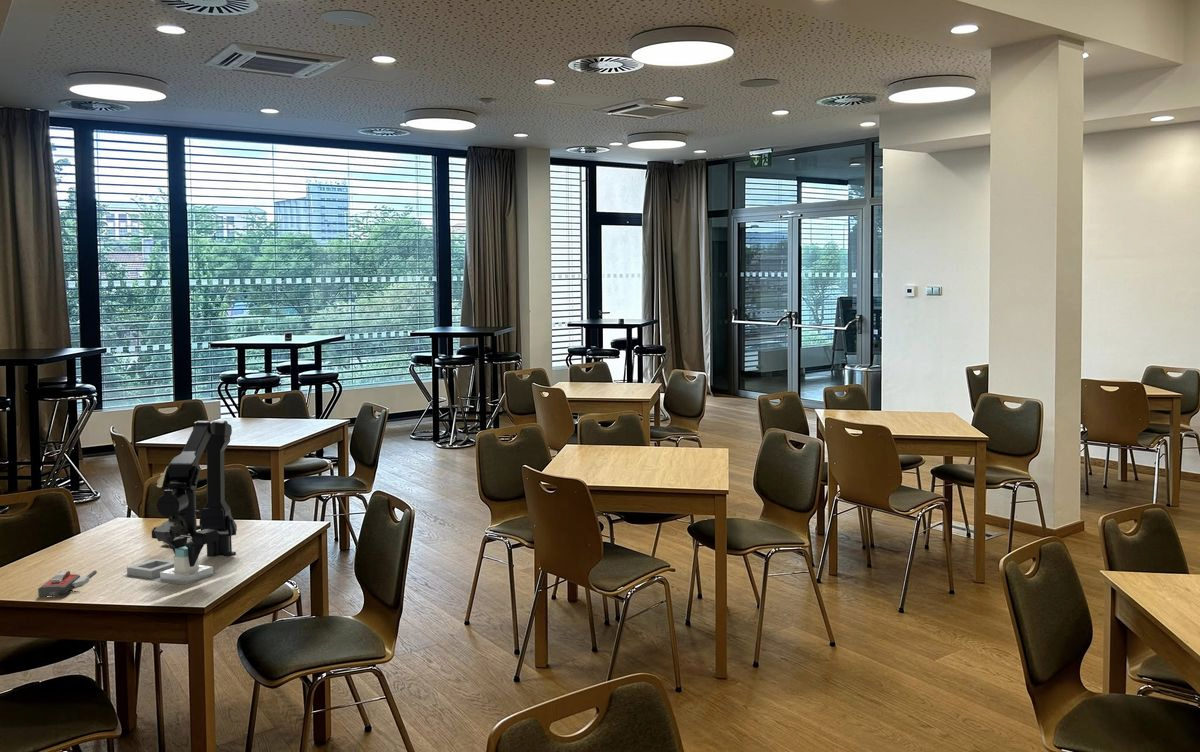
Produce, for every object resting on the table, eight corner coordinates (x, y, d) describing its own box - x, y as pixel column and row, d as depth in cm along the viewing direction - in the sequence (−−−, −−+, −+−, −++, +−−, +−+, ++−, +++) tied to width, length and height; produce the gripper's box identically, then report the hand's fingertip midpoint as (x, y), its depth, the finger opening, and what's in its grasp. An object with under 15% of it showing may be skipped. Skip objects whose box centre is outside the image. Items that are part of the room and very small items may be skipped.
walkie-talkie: (72, 599, 247) (99, 576, 266) (71, 581, 246) (99, 560, 266) (34, 601, 245) (65, 578, 265) (33, 583, 245) (64, 562, 265)
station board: (122, 578, 263) (121, 575, 263) (158, 567, 274) (157, 564, 274) (183, 588, 254) (183, 585, 254) (218, 575, 265) (218, 572, 265)
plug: (174, 578, 260) (173, 549, 260) (189, 573, 265) (188, 544, 264) (184, 580, 259) (183, 550, 258) (199, 575, 263) (197, 545, 263)
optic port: (160, 579, 259) (159, 572, 259) (188, 570, 268) (187, 563, 268) (185, 583, 256) (185, 575, 256) (213, 573, 264) (213, 566, 264)
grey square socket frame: (127, 574, 264) (126, 567, 264) (155, 565, 273) (155, 558, 272) (151, 578, 260) (151, 571, 260) (179, 569, 269) (179, 562, 269)
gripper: (133, 511, 257) (136, 569, 258) (187, 517, 249) (189, 577, 251) (167, 503, 267) (169, 559, 268) (220, 508, 259) (222, 566, 261)
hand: (186, 565), depth 262 cm, fingers closed on plug, 3 cm apart
